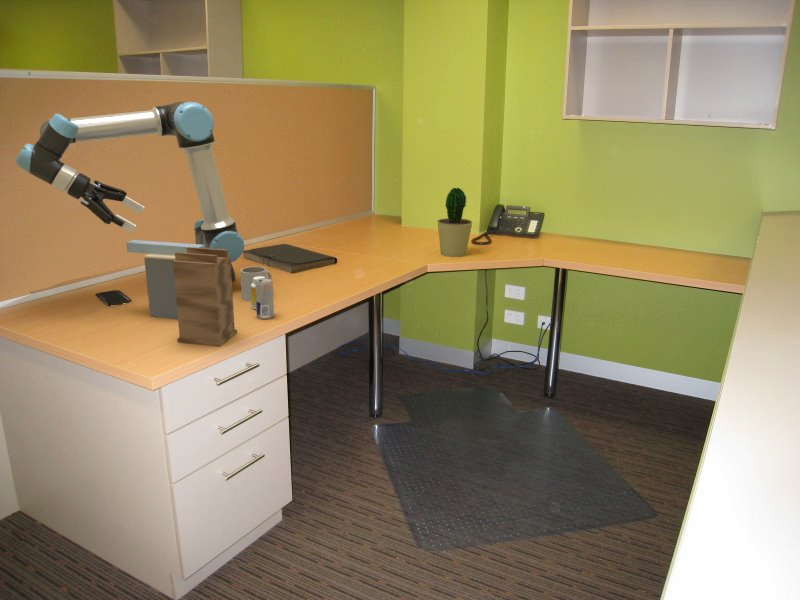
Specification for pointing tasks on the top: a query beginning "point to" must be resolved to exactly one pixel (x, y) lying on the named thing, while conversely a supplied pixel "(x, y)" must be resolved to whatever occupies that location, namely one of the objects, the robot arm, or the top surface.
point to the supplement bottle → (254, 291)
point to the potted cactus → (454, 226)
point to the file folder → (288, 258)
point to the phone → (113, 297)
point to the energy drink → (264, 298)
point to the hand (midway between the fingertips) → (138, 219)
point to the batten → (158, 247)
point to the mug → (251, 279)
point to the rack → (204, 296)
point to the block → (161, 285)
